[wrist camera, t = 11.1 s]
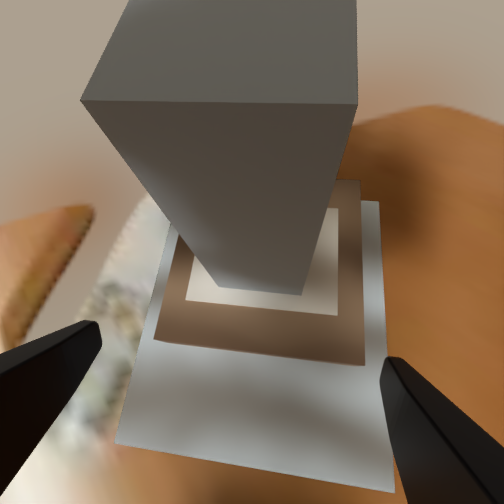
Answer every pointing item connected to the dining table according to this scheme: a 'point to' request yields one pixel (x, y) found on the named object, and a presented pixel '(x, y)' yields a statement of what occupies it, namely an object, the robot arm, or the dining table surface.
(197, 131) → the post
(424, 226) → the dining table surface
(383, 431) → the plinth
